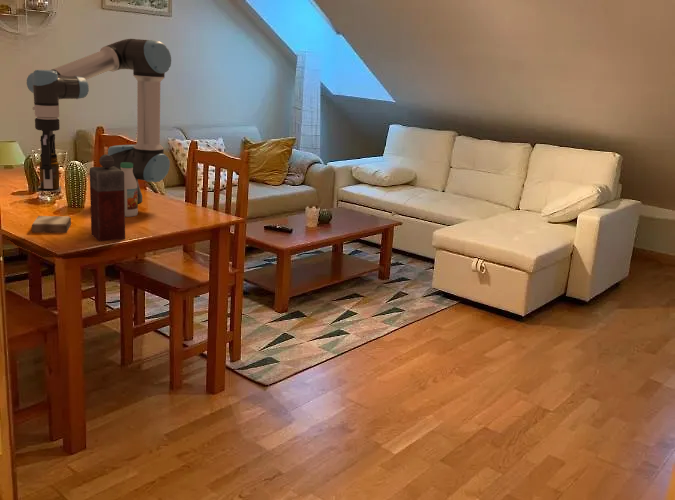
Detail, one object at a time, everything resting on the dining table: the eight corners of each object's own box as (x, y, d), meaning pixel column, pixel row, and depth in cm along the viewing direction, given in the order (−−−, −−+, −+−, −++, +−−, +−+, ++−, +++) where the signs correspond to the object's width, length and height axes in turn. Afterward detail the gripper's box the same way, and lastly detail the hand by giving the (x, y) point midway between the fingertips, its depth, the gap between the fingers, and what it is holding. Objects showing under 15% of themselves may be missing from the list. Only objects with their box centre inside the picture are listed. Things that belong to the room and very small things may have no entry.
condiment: (61, 186, 241) (59, 152, 238) (60, 191, 234) (59, 156, 230) (38, 186, 239) (36, 151, 235) (37, 191, 231) (35, 156, 228)
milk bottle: (119, 217, 261) (118, 165, 255) (114, 212, 267) (113, 161, 262) (140, 216, 265) (139, 164, 259) (134, 211, 271) (134, 161, 266)
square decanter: (115, 230, 244) (113, 151, 236) (125, 238, 235) (124, 156, 227) (89, 232, 239) (86, 151, 231) (98, 241, 230) (96, 157, 222)
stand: (71, 224, 247) (70, 216, 247) (66, 232, 237) (66, 224, 236) (38, 224, 245) (37, 215, 244) (32, 232, 235) (31, 223, 234)
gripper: (40, 114, 238) (43, 180, 245) (29, 120, 221) (33, 191, 227) (63, 115, 240) (65, 181, 246) (54, 121, 222) (57, 192, 229)
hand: (50, 186), depth 237 cm, fingers closed on condiment, 6 cm apart
